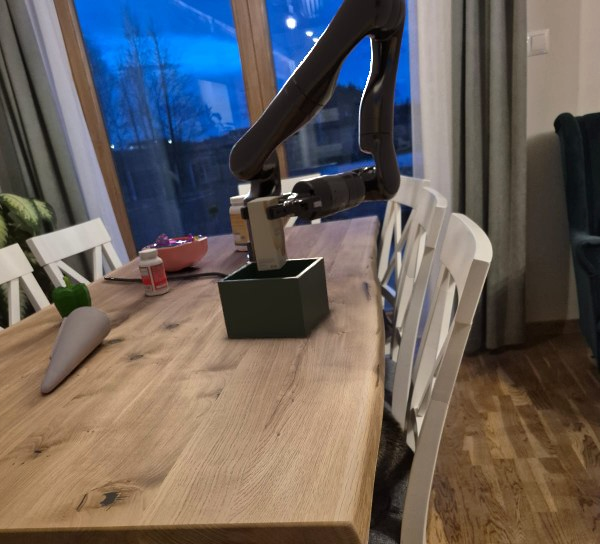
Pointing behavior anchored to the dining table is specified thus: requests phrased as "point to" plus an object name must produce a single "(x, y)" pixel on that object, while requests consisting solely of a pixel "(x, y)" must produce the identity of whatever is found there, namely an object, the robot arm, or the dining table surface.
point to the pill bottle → (152, 273)
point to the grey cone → (75, 343)
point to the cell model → (180, 251)
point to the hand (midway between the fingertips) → (254, 213)
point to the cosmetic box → (266, 235)
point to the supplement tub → (238, 223)
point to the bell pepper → (71, 297)
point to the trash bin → (275, 299)
